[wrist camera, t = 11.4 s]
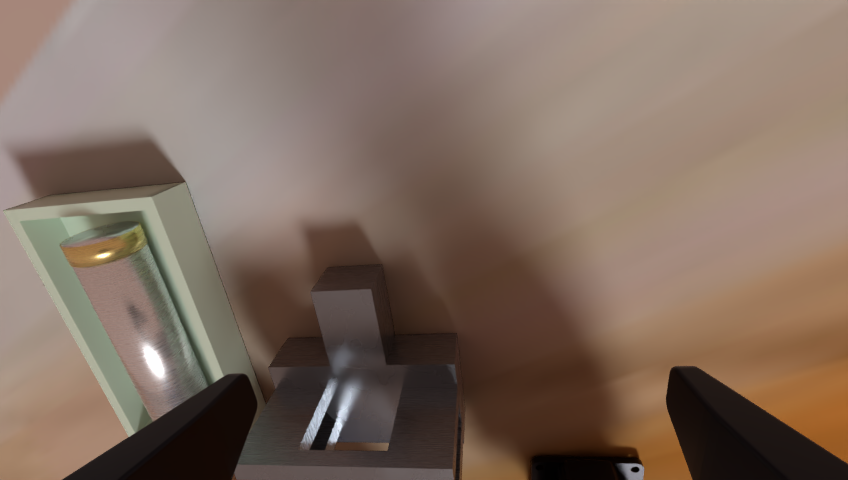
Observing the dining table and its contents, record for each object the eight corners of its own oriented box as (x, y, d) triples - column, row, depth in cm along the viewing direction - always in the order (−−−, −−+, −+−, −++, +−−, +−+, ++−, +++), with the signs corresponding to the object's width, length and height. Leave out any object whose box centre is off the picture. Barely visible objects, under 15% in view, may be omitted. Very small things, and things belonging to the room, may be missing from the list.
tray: (268, 411, 27) (250, 443, 25) (158, 411, 28) (131, 441, 26) (185, 182, 21) (151, 196, 19) (49, 195, 22) (2, 210, 20)
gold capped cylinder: (223, 390, 27) (204, 432, 24) (171, 399, 26) (145, 442, 23) (152, 217, 22) (116, 241, 19) (87, 226, 22) (41, 252, 19)
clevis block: (465, 408, 25) (460, 530, 18) (309, 408, 26) (255, 521, 20) (448, 260, 21) (435, 351, 15) (266, 271, 23) (183, 357, 16)
